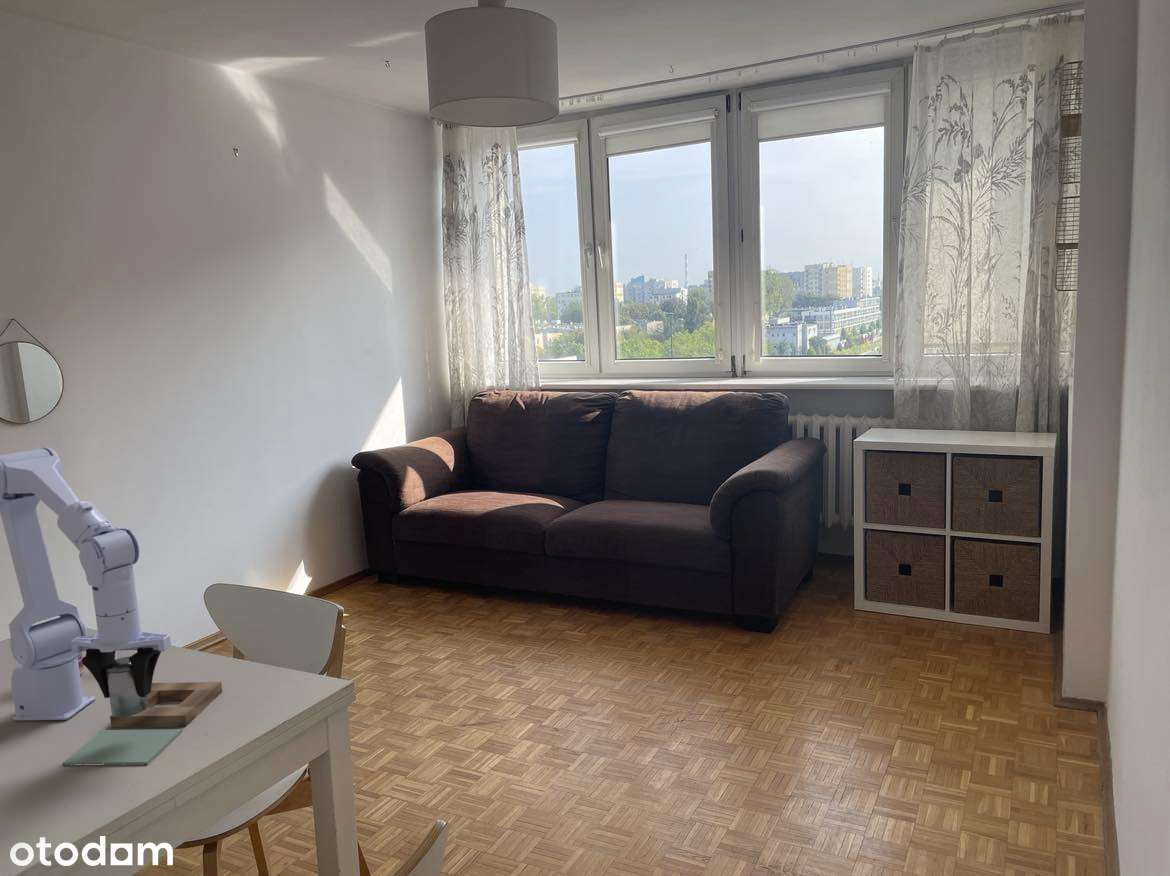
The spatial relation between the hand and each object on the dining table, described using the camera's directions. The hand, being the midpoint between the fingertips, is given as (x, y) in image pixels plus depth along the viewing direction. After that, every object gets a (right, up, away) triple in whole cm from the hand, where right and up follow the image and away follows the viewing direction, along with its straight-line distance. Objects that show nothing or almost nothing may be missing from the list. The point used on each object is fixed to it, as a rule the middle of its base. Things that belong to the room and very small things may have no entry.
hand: (127, 694), depth 136 cm
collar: (+1, -6, +12) cm, 13 cm away
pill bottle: (-25, -5, +27) cm, 37 cm away
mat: (0, -8, -1) cm, 8 cm away
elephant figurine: (-15, -3, +32) cm, 36 cm away
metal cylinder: (0, -2, 0) cm, 2 cm away
